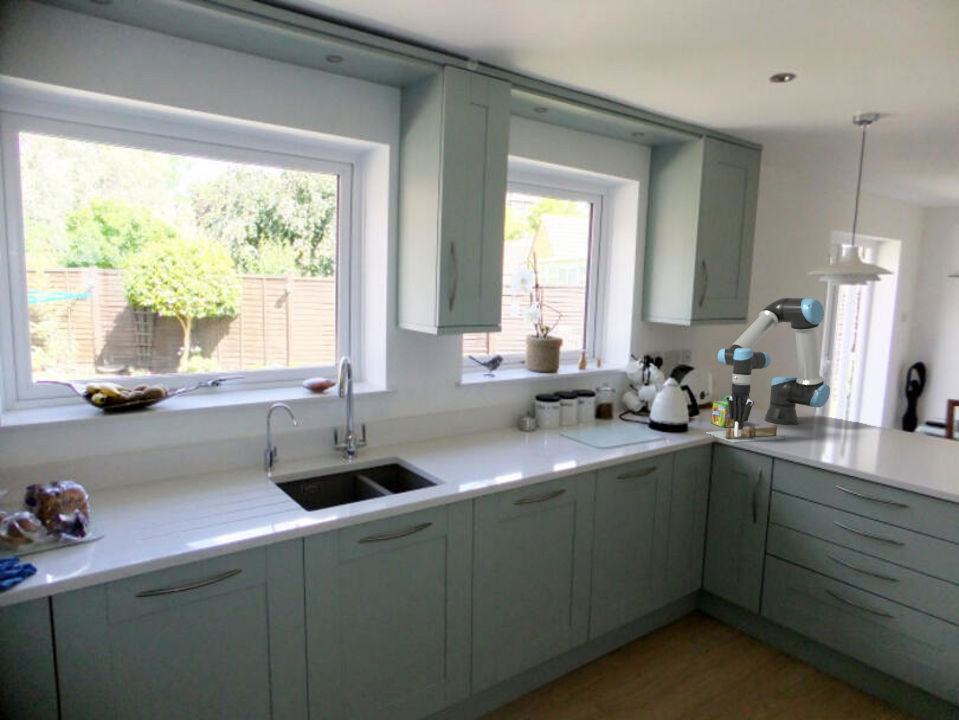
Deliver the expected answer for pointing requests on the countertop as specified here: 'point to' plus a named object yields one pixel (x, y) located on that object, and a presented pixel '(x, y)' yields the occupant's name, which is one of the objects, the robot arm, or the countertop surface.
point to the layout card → (746, 439)
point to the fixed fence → (763, 431)
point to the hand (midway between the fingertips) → (737, 436)
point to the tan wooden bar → (731, 435)
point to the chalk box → (721, 414)
